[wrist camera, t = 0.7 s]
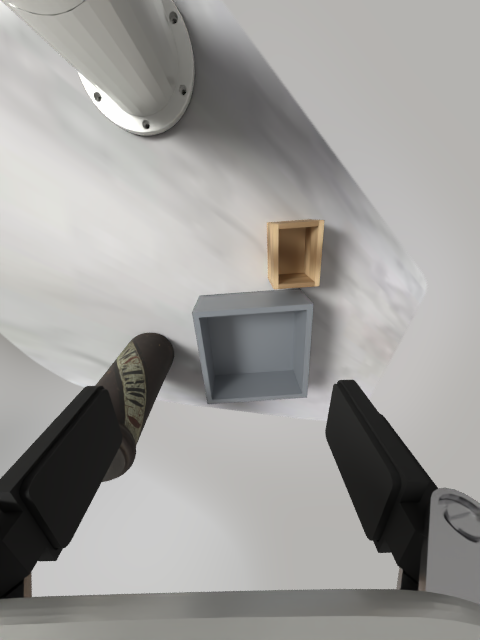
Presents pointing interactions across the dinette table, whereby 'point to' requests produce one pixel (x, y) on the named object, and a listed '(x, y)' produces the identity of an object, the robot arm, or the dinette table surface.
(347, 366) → the dinette table surface
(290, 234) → the wooden crate
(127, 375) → the container
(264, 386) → the grey crate
